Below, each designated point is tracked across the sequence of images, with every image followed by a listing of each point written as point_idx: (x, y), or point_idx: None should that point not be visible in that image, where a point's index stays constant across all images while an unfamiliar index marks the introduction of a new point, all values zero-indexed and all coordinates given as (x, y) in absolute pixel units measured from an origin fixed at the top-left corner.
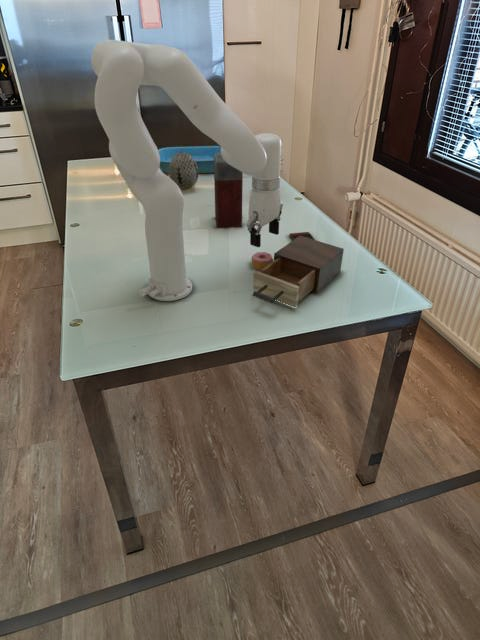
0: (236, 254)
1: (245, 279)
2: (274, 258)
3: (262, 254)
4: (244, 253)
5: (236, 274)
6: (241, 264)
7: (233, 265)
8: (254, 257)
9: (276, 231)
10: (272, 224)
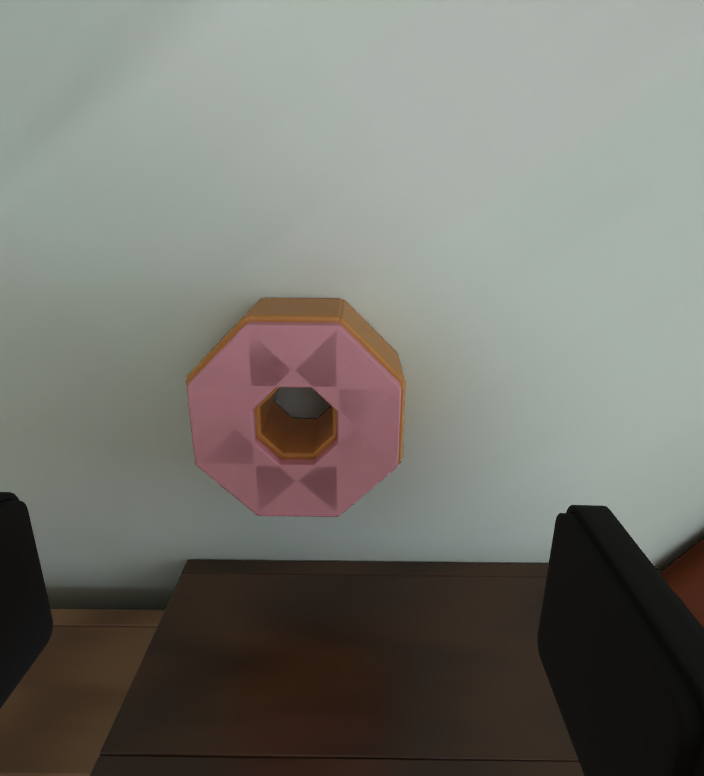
0: (336, 12)
1: (9, 408)
2: (114, 727)
3: (332, 406)
4: (413, 84)
5: (7, 295)
6: (188, 216)
7: (113, 156)
8: (216, 374)
9: (556, 683)
10: (626, 723)
